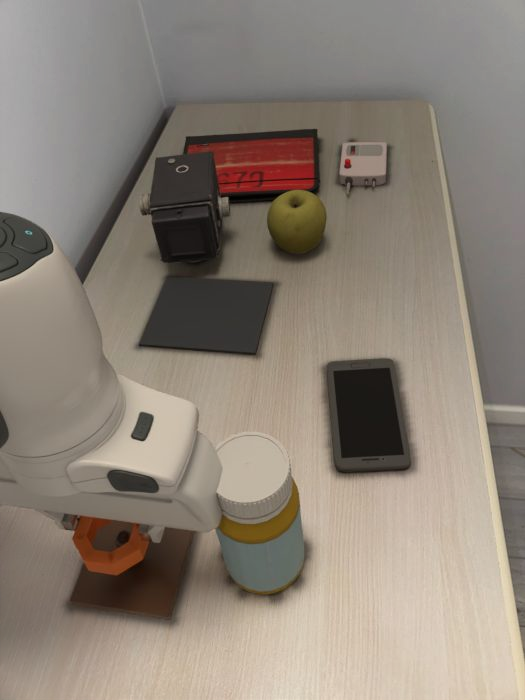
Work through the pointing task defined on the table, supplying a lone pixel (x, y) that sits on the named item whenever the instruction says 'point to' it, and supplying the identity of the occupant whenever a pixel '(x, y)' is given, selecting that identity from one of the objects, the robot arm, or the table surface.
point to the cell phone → (366, 416)
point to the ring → (102, 559)
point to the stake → (136, 574)
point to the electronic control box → (363, 164)
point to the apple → (297, 221)
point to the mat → (208, 315)
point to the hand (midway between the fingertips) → (113, 528)
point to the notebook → (261, 162)
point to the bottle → (259, 513)
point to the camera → (186, 207)
